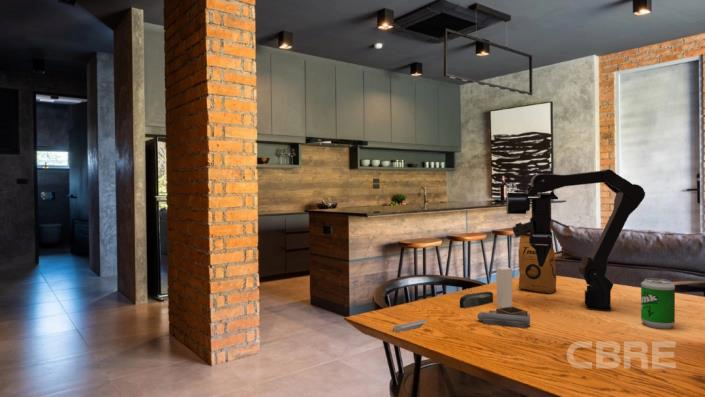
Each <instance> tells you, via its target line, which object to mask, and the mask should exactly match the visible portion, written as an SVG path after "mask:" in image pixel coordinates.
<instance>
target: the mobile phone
mask: <svg viewBox="0 0 705 397" xmlns="http://www.w3.org/2000/svg"><path fill="white" fill-rule="evenodd" d="M492 303H494V294H493V292H492V291H483V292H482V291H481V292H475V293H468V294H467V293H466V294H464V295H462V296H461V297H460V299H459V308H460V309H469V308H476V307H479V306H480V307H481V306H484V305H486V304H492Z"/></svg>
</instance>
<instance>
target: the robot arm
mask: <svg viewBox="0 0 705 397" xmlns="http://www.w3.org/2000/svg"><path fill="white" fill-rule="evenodd" d="M592 184H604V185H605V186H606V187H607V188H608V189H609V190H611V192H613V193H614V194H615V196H614V200H613V210H612V212H611V214H610V216H609V219H608V221H607V223H606V224H605V227H604V228H603V230H602V232H601V235H600V237H599V238H598V241H597V242H596V245H595V247H594V249H593V251H592V252H591V253H589V255H586V254H583V256H582V258H581V261H580V262H579V264H578V265H577V266H578V267H579V268H578V274H579V276H580V278H582V279H583V280H584V281H585V283H586V290H584V305H585V306H586V309H588V310H599V311H608V312H609V311H610V312H611V311H613V310H612V307H611V303H612V302H611V300H612V299H611V297H612V296H611V295H612V294H611V293H612V292H611V291H612V289H613V286H614V283H613V282H612V281H611V280H609V279H608V278H607V277H606V273H607V270H608V263H609V262H608V261H609V257H610V255H611V252H612V251H613V249H614V246H615V245H616V243H617V241H618V238H619V236H620V234H621V233H622V230H623V229H624V227H625V224H626V222H627V220H628V218H629V217H630V215H631V214H632V213H633V212H634V211H635V210H636V209H637V208H638V207H639V206H640V205H641V203H642V202H643V200H644V199H645V197H646V192H645V190H644V188H643V187H642V186H641V185H639V184H636V183H635V184H634V183H632V182H630V181H629V180H627V179H625V178H624V177H622V176H620V175H619V174H618V173H616V172H615V171H614V170H612V169H608V168H607V169H601V170H597V171H588V172H587V171H586V172H577V173H569V174H554V173H537V174H535V175H534V176H532V178H531V179H530V185H529V186H528V188H527V189H526V190H525V191H524V192H507V194H506V195H507V197H506V203H505V206H506V207H505V208H506V209H505V210H506V214H507V215H526V214H527V212H529V211H530V209H531V217H530V218H529V221H528V222H524V223H522V222H519V223H515V226H513V227H512V229H511V230H512V232H513V233H514V236H515V238H520V236H521V235H524V234H527V233H530V234H532V235H531V236H530V237H529V244H530V246H532V247H533V248H534V249H535V251H536V255H537V259H538V264H539V266H540V267H543V265H544V263H545V260H546V258H547V255H548V253H549V251H550V248H551V246H552V240H553V239H552V238H553V231H552V200H558V199H559V196H557V195H556V194H555V193H554V191H555V190H557V189H561V188H564V187H565V188H566V187H572V186H581V185H592ZM547 192H549V193H547ZM539 193H540V194H539ZM541 193H542V194H541ZM543 193H544V194H543ZM536 195H538V197H531V196H536Z"/></svg>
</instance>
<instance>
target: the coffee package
mask: <svg viewBox="0 0 705 397" xmlns="http://www.w3.org/2000/svg"><path fill="white" fill-rule="evenodd" d="M531 235H532V234H530V233H527V234H524V235H520V236H519V246H518V250H517V251H518V252H517V253H518V272H519V278H518V288H519V289H522V290H525V291H529V292H530V291H531V292H537V293H544V294H553V292H556V291H557V271H556V262H555V261H556V258H555V257H556V256H555V250H554V240H553V237H552V246H551V248H550V251H549V253H548V255H547V258H546V260H545V263H544V265H543V267H540V266H539V264H538V259H537V255H536V251H535V249H534V248H533V247H532V246H530V244H529V237H530V236H531Z"/></svg>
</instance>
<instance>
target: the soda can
mask: <svg viewBox="0 0 705 397" xmlns="http://www.w3.org/2000/svg"><path fill="white" fill-rule="evenodd" d="M675 296H676V286H675V284H673V283H672V281H671V280H669V279H664V278H650V277H649V278H645V279H644V280H643V281H641V283H640V319H641V321H642V322H643V323H644V325H645V326H647V327H650V328H654V329H660V330H661V329H663V330H665V329H671V327H672V326H674V325H675V321H676V320H675V318H676V316H675V315H676V310H675V309H676V308H675V307H676V306H675V304H676V297H675Z"/></svg>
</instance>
